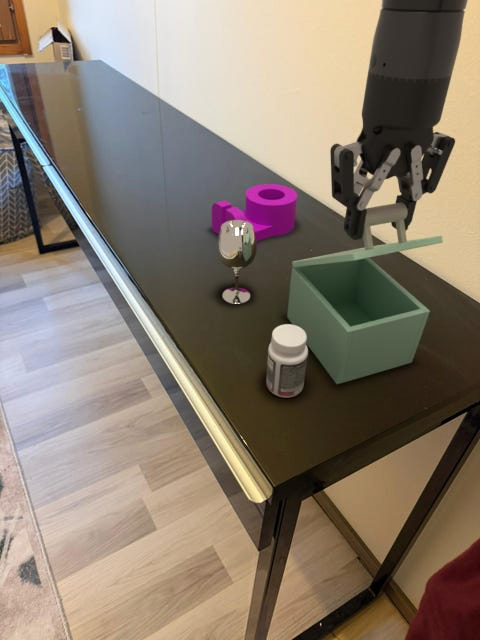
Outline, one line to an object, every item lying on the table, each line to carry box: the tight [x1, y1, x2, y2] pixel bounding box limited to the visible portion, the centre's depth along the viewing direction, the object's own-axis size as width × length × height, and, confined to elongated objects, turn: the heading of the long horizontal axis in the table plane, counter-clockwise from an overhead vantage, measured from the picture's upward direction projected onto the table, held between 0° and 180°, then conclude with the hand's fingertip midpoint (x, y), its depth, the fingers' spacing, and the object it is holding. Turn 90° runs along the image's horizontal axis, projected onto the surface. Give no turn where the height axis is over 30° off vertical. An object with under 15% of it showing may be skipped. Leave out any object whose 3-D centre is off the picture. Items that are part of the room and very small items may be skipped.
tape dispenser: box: [211, 183, 298, 242], centre depth 88 cm, size 16×10×6 cm, turn 125°
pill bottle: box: [265, 323, 309, 399], centre depth 55 cm, size 5×5×8 cm
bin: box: [286, 257, 431, 385], centre depth 62 cm, size 15×12×9 cm
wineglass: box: [216, 220, 258, 305], centre depth 68 cm, size 6×6×12 cm
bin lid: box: [291, 202, 443, 267], centre depth 56 cm, size 16×12×5 cm
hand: (376, 232), depth 53 cm, fingers closed on bin lid, 5 cm apart
